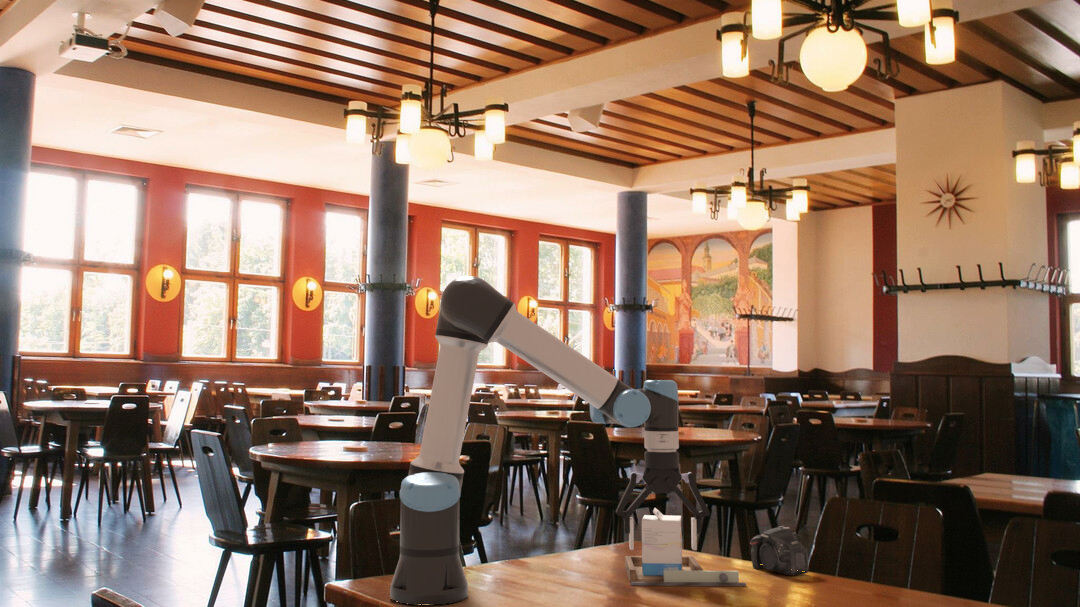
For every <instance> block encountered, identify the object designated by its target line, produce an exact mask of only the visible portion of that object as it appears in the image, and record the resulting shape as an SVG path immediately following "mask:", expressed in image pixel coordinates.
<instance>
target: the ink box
mask: <svg viewBox="0 0 1080 607" xmlns="http://www.w3.org/2000/svg"><path fill="white" fill-rule="evenodd" d="M652 513H653V514H654V515H651V514H650V515H649V514H644V515H643V516H642V518H641V556H642V573H643V575H651V576H664V570H682V556H683V544H682V543H683V540H682V539H683V538H682V532H683V531H682V515H671V514H670V515H666V514H663V513H662V512H661V511H660V510H659V509H657V508H656V507H654V508H653V510H652Z"/></svg>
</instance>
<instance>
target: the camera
mask: <svg viewBox="0 0 1080 607" xmlns="http://www.w3.org/2000/svg"><path fill="white" fill-rule="evenodd" d="M798 538H799V537H798V534H797V533H796V532H792V531H791V528H790V527H789V526H787V527H786V526H784V525H781V526H780V525H779V526H777V527H774V528H770V529H768V530H765V531H763V532H762V533H761V534H757V535H755V536H753V538H751V539H750V542H749V544H750V545H751V551H750V552H751V563H752V569H754V570H768V571H771V572H775V573H778V574H780V575H781V574H782V575H785V576H797V575H804V574H808V572H809V558H808V557H809V556H808V554H809V553H808V549H807V547H806V546H804V545H802V543H801V541H799V539H798ZM760 564H763V565H760ZM791 569H792V570H791ZM797 570H798V571H797ZM802 571H805V572H802Z"/></svg>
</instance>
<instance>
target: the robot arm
mask: <svg viewBox="0 0 1080 607" xmlns="http://www.w3.org/2000/svg"><path fill="white" fill-rule="evenodd" d="M516 306H517V305H516V303H515V302H513V301H512V300H510V299H509V298H507V297H506V296H505V295H503V294H502V293H501V292H500V291H498V290H497V289H495V288H494V287H493V285H491V284H490V283H488V282H487V281H486V280H484V279H482V278H481V277H478V276H475V275H463V276H459V277H457V278H454V279H453V280H452V281H450V283H448V284H447V286H446V287H445V288H444V290H443V292H442V294H441V298H440V304H439V313H438V317H437V325H436V329H435V336H434V338H435V339H436V341H437V343H438V344H439V351H438V355H437V361H436V367H435V372H434V376H433V382H432V388H431V392H430V397H429V402H428V403H429V404H428V408H427V412H426V413H427V414H426V418H425V424H424V429H423V435H422V438H421V445H420V450H419V455H418V456H417V457H415V458H414V459H413V460H412V461H410V465H409V469H408V474H407V476H406V477H404V479H403V478H402V481H401V485H400V489H399V499H400V513H399V515H400V516H399V517H400V518H399V520H400V521H399V526H400V527H399V528H400V530H399V559H398V562H397V565H396V568H395V571H394V575H393V577H392V579H391V584H390V588H389V591H390V592H389V594H390V595H389V598H390V597H391V598H392V599H393V600H395V601H398V602H402V603H408V604H421V605H420V606H423V605H422V604H442V605H447V603H449V604H453V603H457V602H460V601H464V600H465V599H466V598H467V597H469V596H468V594H469V588H468V587H469V585H468V581H467V577H466V574H465V570H464V567H463V564H462V561H461V557H460V511H461V510H460V507H461V506H460V503H461V502H460V498H461V493H462V486H463V480H464V475H465V470H464V468H463V467H462V466H461V464H460V458H461V452H462V448H463V441H464V436H465V431H466V427H467V426H466V425H467V419H468V415H469V411H470V410H469V408H470V405H471V398H472V393H473V388H474V383H475V377H476V373H477V368H478V367H477V365H478V363H479V356H480V355H479V354H480V353H481V351H483V350H485V349H486V348H487V347H488V345H489V343H490V344H491V343H497V344H499V345H500V346H502V347H503V348H505V349H506V350H509V351H510V352H511V353H512V354H514V355H515V356H517V357H518V358H520V359H521V360H523V361H525V362H526V363H528V364H529V365H531V366H532V367H534V368H535V369H537V370H538V371H540V373H542V374H543V375H544V374H545V375H546V376H548V378H550V379H551V380H554V382H557V383H558V384H559V385H561V386H562V387H564V389H567V390H568V391H570V392H571V393H573V394H575V395H576V396H577V397H579V398H580V399H582V400H583V401H585V402H587V403H588V404H589V416H590V419H591V421H592V422H593V423H594V424H604V425H607V424H615V425H620V426H623V427H625V428H629V429H630V428H637V427H639V426H641V425H644V426H643V428H644V429H643V430H644V431H643V432H644V437H643V438H644V442H643V443H644V444H643V445H644V448H645V449H646V451H644V471H643V473H638V472H637V473H636V472H635V471H632V472H630V474H629V475H630V476H629V483H627V484H628V485H627V486H626V488H625V491H624V492H623V495H622V496H621V499H620V501H619V503H618V505H617V507H616V509H615V514H616V516H618V517H622V518H623V531H624V533H625V534H629V535H628V541H629V542H628V544H629V549H630V551H634V550H635V548H634V547H635V545H634V544H635V543H634V540H635V539H634V537H635V536H634V535H635V534H634V525H635V524H634V518H633V517H632V516H633V514H634V513H635V512H636V510H638V508H640V506H641V504H642V503H644V501H645V500H646V498H647V497H648V496H649V495H650V494H651V493H653V494H656V495H657V494H658V495H660V494H666V495H670V494H671V493H674V494H675V495H676V496H677V497H678V498H679V499H680V500H681V502H682V503H683V504H684V505H685V506H686V508H687V509H688V510H689V511H690V513H692V515H693V516H694V517H690V524H691V526H690V529H691V534H690V535H691V538H690V539H691V541H690V542H691V543H690V544H691V549H692V551H698V545H697V544H698V542H697V541H698V540H697V539H698V538H697V536H698V535H699V534H701V533H702V519H703V518H705V517H709V516H710V515H711V514H710V510H709V508H708V506H707V504H706V502H705V500H704V499H703V496H702V494H701V492H700V490H699V489H698V486H697V485H696V480H695V475H694V473H692V472H691V471H688V472H687V473H681V471H680V453H679V451H677V450H678V449H679V448H680V444H679V442H680V441H679V439H680V438H679V436H680V435H679V402H680V400H679V390H678V384H677V382H676V381H674V380H672V379H668V380H667V379H664V380H663V379H659V380H658V379H654V380H653V379H647V380H645V381H643V386H642V388H637V389H635V388H632V387H631V386H629V385H628V384H627V383H625V382H623V381H622V380H620V379H619V378H618V377H616V376H615V375H613V374H612V373H610V372H609V371H607V370H606V369H604V368H603V367H601V366H599V364H597V363H595V361H594V362H593V361H592V360H590V358H587V357H586V356H584V354H581V353H580V352H579V351H577V350H576V349H574V348H573V347H571V346H570V345H569V344H567V343H565V342H564V341H563V340H561V339H559V338H558V337H556V336H555V335H553V334H552V333H550V332H549V331H548V330H546V329H544V328H543V327H541V326H540V325H538V324H537V323H536V322H534V321H532V320H531V319H530V318H528V317H526V315H523V314H522V313H521V312H519V311H518V310H517V307H516ZM641 480H643V482H644V483H645V484H646V486H644V488H643V489H642V491H641V492H640V493H639V494H638V496H637V497H636V498H635V499H634V500H633V501H632V502H631V504H630V505H629V506H628V508H627V509H626V510H625V508H626V505H627V504H628V502H629V500H630V498H631V496H632V494H633V491H634V489H635V487H636V485H637V484H639V483H640V481H641ZM682 480H683V481H684V482H685V483H686V484H688V486H689V489H690V491H691V492H692V495H693V496H694V499H695V500H696V503H697V504H698V506H699V508H700V509H701V510H698V509H697V508H696V507H695V505H694V504H692V502H691V501H690V500H689V499H688V497H687V496H686V495H685V494H684V492H682V490H681V489H680V488H679V486H678V485H679V484H680V482H681V481H682ZM391 598H390V599H391ZM393 600H392V601H393ZM395 601H394V602H395ZM398 602H397V603H398ZM402 603H401V604H402ZM408 604H407V605H408Z"/></svg>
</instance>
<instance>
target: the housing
mask: <svg viewBox="0 0 1080 607" xmlns="http://www.w3.org/2000/svg"><path fill="white" fill-rule="evenodd" d="M624 569H625V572H626V574H627V578H628V581H629V583H630V586H632V587H633V586H637V587H638V586H639V587H641V586H644V587H645V586H647V587H648V586H650V587H651V586H652V587H653V586H654V587H657V586H660V587H667V586H668V587H670V586H671V587H672V586H673V587H674V586H676V587H746V586H747V583H746V582H739V583H717V582H664V576H651V575H643V573H642V555H624ZM682 570H689V571H704V569H703V568H702V566H701V565H700V563H699V562H698V561H697V560H696V558H695V557H694V556H692V555H691V556H690V555H689V556H688V555H686V556H685V555H682Z"/></svg>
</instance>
